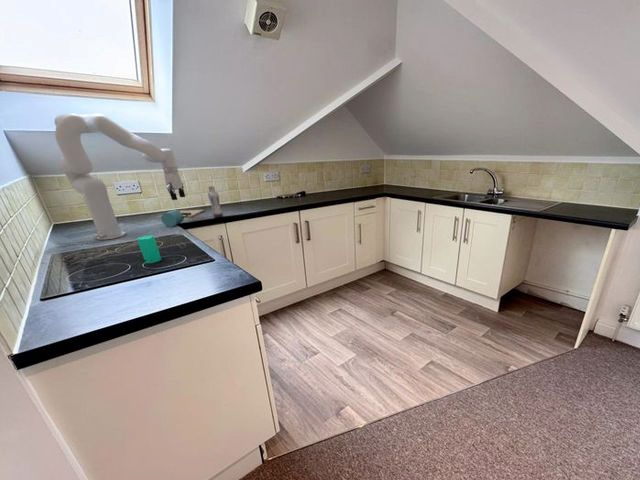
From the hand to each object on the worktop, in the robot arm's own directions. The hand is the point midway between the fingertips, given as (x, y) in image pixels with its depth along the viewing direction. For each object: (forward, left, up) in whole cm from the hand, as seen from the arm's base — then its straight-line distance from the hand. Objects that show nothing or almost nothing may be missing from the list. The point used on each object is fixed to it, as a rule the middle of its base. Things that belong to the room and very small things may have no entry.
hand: (178, 198), depth 191 cm
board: (+17, +8, -14) cm, 23 cm away
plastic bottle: (+5, -20, -14) cm, 25 cm away
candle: (-76, -25, -14) cm, 81 cm away
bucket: (-8, 0, -14) cm, 16 cm away
